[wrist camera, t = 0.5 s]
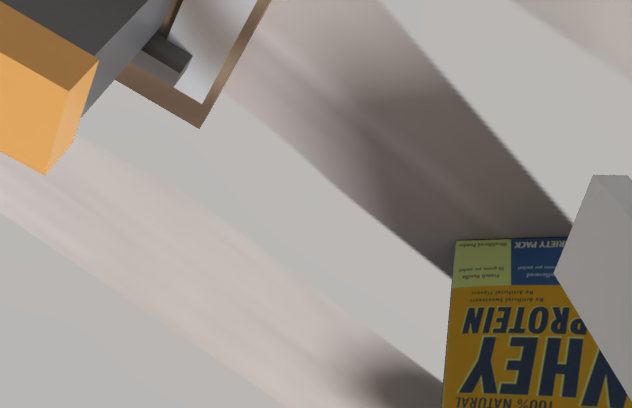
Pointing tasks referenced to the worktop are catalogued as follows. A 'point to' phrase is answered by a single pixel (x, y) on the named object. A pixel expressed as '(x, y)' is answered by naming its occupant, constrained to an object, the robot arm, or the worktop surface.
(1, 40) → the switch handle
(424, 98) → the worktop surface
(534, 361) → the protein box
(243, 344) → the worktop surface
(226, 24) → the switch panel
